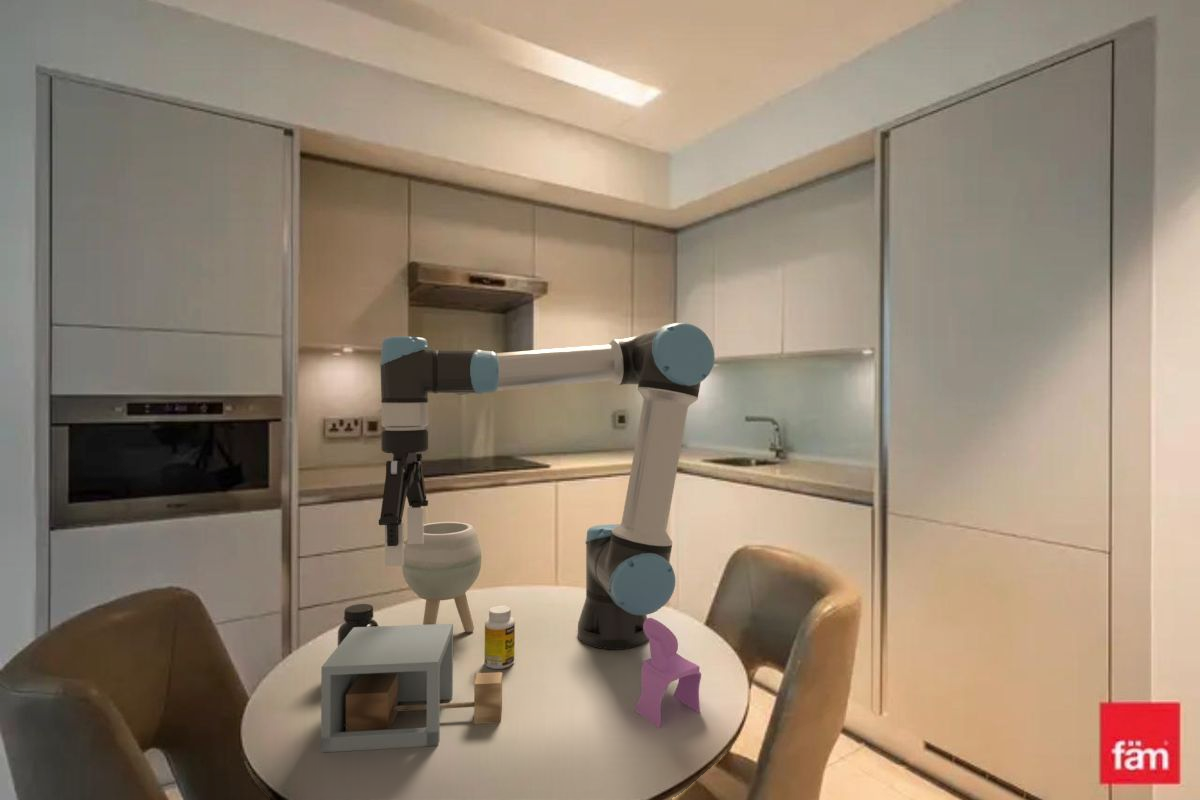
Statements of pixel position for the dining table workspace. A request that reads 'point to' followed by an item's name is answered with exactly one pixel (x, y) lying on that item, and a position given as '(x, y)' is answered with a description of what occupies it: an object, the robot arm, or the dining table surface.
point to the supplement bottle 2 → (499, 638)
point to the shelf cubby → (388, 650)
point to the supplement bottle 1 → (356, 619)
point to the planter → (444, 568)
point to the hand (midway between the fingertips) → (405, 553)
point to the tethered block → (378, 705)
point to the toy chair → (665, 673)
